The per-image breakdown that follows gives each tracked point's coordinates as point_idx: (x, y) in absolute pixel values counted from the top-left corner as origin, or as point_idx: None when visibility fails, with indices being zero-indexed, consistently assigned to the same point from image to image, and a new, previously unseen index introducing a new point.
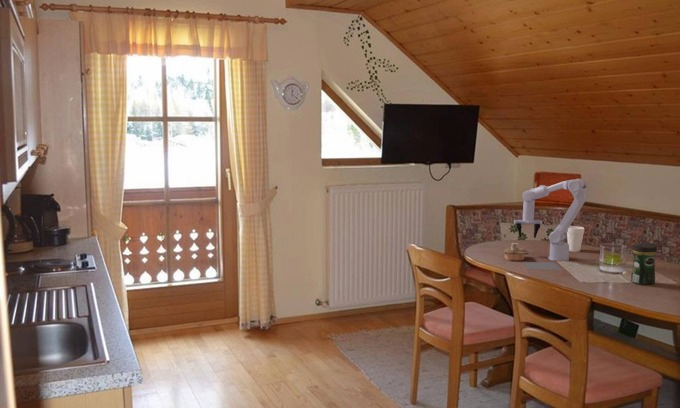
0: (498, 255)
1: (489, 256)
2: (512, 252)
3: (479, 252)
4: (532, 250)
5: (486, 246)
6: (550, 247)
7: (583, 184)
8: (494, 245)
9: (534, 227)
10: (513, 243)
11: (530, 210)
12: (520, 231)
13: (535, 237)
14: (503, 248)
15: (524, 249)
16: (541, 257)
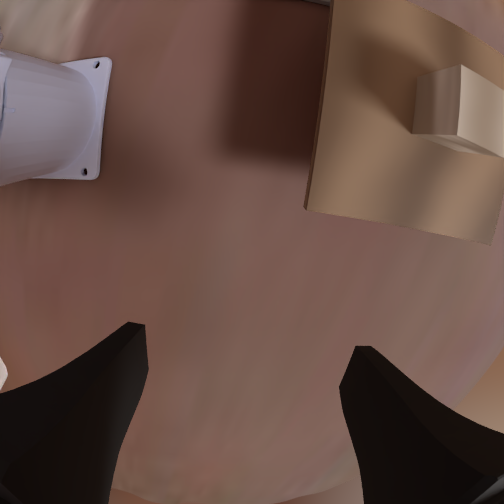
0: (452, 252)
1: (501, 224)
2: (468, 38)
3: (493, 322)
4: (165, 393)
5: None
6: (39, 97)
7: None
8: (341, 460)
9: (99, 495)
10: (497, 120)
11: None
12: (415, 402)
13: (126, 324)
14: (493, 206)
15: (330, 141)
16: (141, 184)
